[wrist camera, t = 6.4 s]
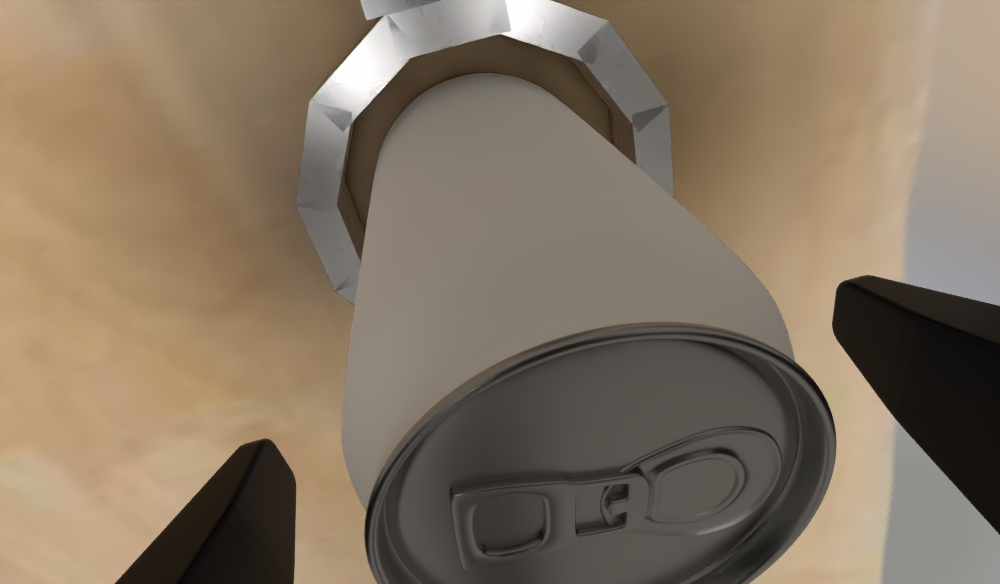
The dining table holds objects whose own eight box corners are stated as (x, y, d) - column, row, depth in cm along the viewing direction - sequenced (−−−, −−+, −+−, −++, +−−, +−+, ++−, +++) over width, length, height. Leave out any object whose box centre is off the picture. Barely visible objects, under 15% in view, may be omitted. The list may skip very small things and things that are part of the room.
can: (585, 262, 19) (805, 623, 8) (394, 287, 18) (380, 708, 8) (589, 58, 15) (962, 245, 5) (354, 80, 15) (238, 342, 4)
